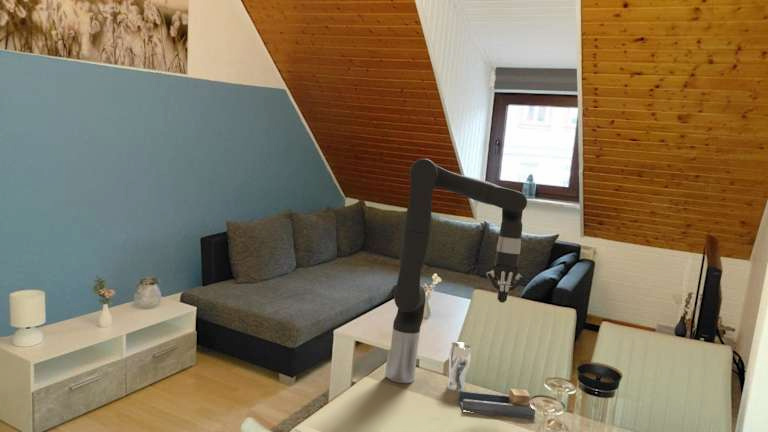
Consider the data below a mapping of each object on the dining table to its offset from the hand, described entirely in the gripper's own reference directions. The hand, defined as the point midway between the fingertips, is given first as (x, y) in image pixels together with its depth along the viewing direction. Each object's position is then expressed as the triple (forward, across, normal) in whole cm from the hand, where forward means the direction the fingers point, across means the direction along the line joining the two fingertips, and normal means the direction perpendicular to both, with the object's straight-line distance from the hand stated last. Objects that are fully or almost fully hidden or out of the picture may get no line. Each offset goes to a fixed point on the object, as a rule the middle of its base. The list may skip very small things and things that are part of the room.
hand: (501, 302), depth 182 cm
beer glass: (+31, -12, 0) cm, 33 cm away
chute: (+31, -1, -15) cm, 34 cm away
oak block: (+30, +6, -15) cm, 33 cm away
